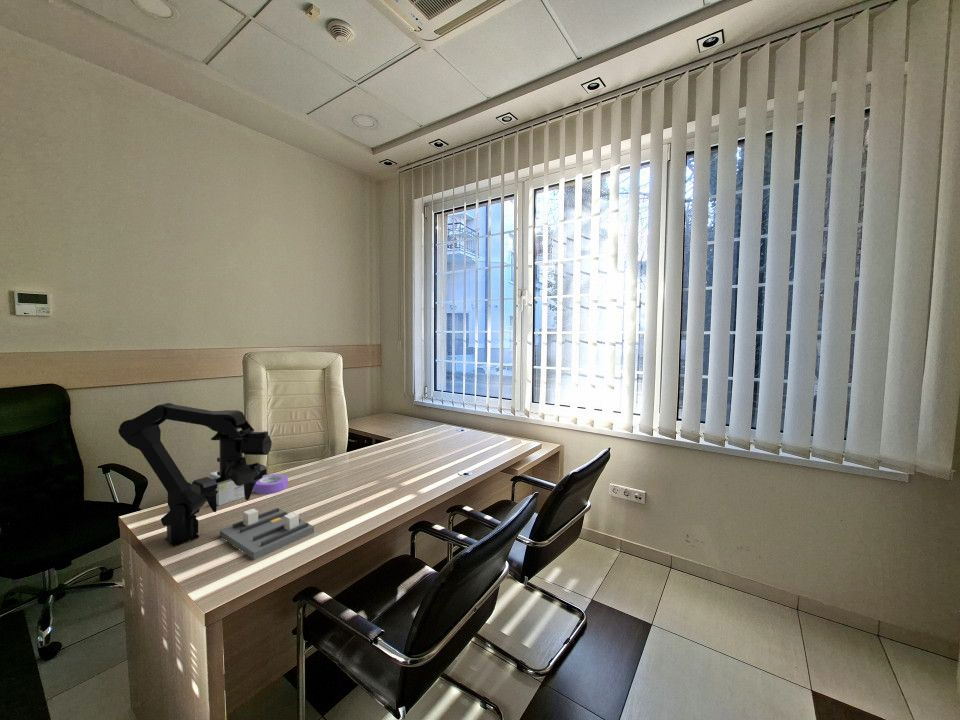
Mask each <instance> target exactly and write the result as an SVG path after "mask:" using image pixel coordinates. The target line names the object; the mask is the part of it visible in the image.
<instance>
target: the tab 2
mask: <svg viewBox="0 0 960 720" xmlns="http://www.w3.org/2000/svg"><path fill="white" fill-rule="evenodd" d="M299 519H300V515H299V514H298V513H296V512H295V511H294V512H291V513H289V514H287V515H285V516H284V529H286V530H290V529H293V528H295V527H297V526H299Z"/></svg>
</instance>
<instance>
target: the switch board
mask: <svg viewBox="0 0 960 720" xmlns="http://www.w3.org/2000/svg"><path fill="white" fill-rule="evenodd" d="M287 514H290V513H288V512H287V511H284V510H282V509H280V507H277V508H273V509H270V510H269V511H265V512H263V513H260V514H258V522H256V523H254V524H251V525H249V526H245V525H243V520H240V521H239V522H236V523H233V524H232V525H230V526H227V527H224V528H222V529H219V537H220V536H221V537H222V538H223V539H222V538H221V537H220V538H221V539H222V540H224V539H225V540H227V541H228V542H229V544H230V543H231V544H232V545H231V544H230V545H231V546H233V545H234V546H235V548H236V547H237V548H238V549H237V548H236V549H237V550H239V549H240V550H241V551H240V550H239V551H240V552H242V551H243V552H244V553H243V552H242V553H243V554H245V553H246V554H247V555H246V554H245V555H246V556H248V557H249V558H251V559H252V560H253V561H255V560H257V559H259V558H262V557H264V556H266V555H268V554H271V553H272V552H275V551H276V550H279V549H281V548H283V547H285V546H288V545H289V544H292V543H294V542H296V541H299V540H301V539H303V538H306V537H308V536H309V535H312V534H313V533H315V526H314V525H313V524H310V523H309V522H306V521H304V520H302V519H301V518H299V526H297V527H295V528H293V529H290V530H286V529H284V516H285V515H287ZM225 540H224V541H225ZM227 541H226V542H227ZM228 542H227V543H228ZM234 546H233V547H234Z"/></svg>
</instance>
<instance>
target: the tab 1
mask: <svg viewBox="0 0 960 720" xmlns="http://www.w3.org/2000/svg"><path fill="white" fill-rule="evenodd" d="M258 515H259V510H257V509H256V508H250V509H248V510H245V511H243V512H242V519H243V520H242V521H243V525H245V526H249V525H251V524H254V523H256V522H258Z"/></svg>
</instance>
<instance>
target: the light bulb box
mask: <svg viewBox="0 0 960 720" xmlns="http://www.w3.org/2000/svg"><path fill="white" fill-rule="evenodd" d="M218 471H219V470H217V471H212V472H210V473H209V478H211V479H215V478H219V477H220V476H219V475H217V472H218ZM216 491H218V493H217V495H216V502H217V507H221V506H223V505H225V504H229V503H231V502H234V501H238V500H241V499H245V495H244V484H243V485H242V486H237V485H235V483H234V482H233V481H229V482H225V483H222V484H219V485H217V488H216Z"/></svg>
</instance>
